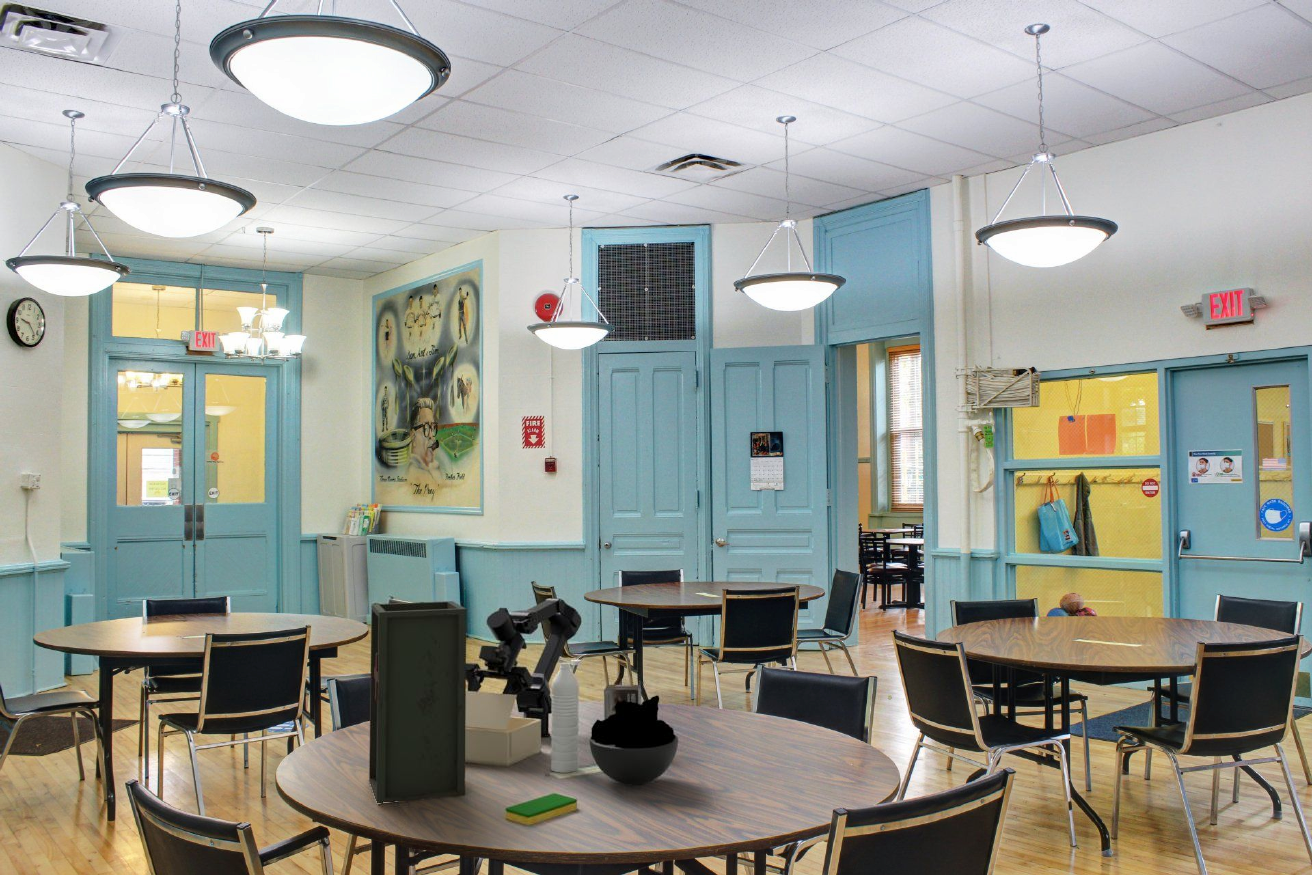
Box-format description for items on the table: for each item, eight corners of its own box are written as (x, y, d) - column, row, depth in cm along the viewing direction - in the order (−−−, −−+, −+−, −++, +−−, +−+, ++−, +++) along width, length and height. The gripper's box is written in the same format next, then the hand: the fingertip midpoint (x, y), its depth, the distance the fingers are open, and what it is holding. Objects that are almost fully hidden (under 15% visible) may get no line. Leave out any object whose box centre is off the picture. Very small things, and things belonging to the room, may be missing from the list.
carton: (473, 743, 266) (473, 712, 267) (543, 750, 258) (543, 719, 258) (436, 758, 251) (436, 725, 251) (509, 766, 243) (509, 732, 243)
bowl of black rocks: (600, 799, 216) (600, 709, 217) (581, 775, 235) (581, 692, 236) (689, 792, 221) (689, 704, 223) (664, 768, 241) (664, 688, 242)
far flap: (452, 690, 256) (451, 689, 256) (516, 695, 249) (516, 694, 249) (439, 724, 251) (439, 723, 251) (505, 730, 244) (504, 729, 243)
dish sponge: (578, 810, 210) (578, 798, 210) (528, 827, 199) (528, 814, 200) (554, 804, 215) (554, 792, 215) (504, 819, 204) (504, 807, 204)
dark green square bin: (369, 781, 230) (371, 604, 233) (450, 773, 237) (452, 601, 239) (376, 804, 213) (379, 612, 216) (464, 795, 220) (466, 608, 222)
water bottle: (567, 774, 236) (567, 665, 237) (545, 770, 239) (545, 663, 241) (589, 766, 243) (589, 660, 245) (568, 762, 247) (568, 658, 248)
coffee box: (642, 747, 261) (642, 684, 262) (639, 754, 255) (639, 688, 255) (607, 747, 262) (607, 683, 263) (603, 753, 255) (603, 688, 256)
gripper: (464, 631, 262) (439, 681, 251) (527, 634, 255) (504, 686, 244) (481, 657, 269) (456, 707, 258) (543, 661, 261) (520, 713, 250)
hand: (483, 703), depth 252 cm, fingers open, 9 cm apart
